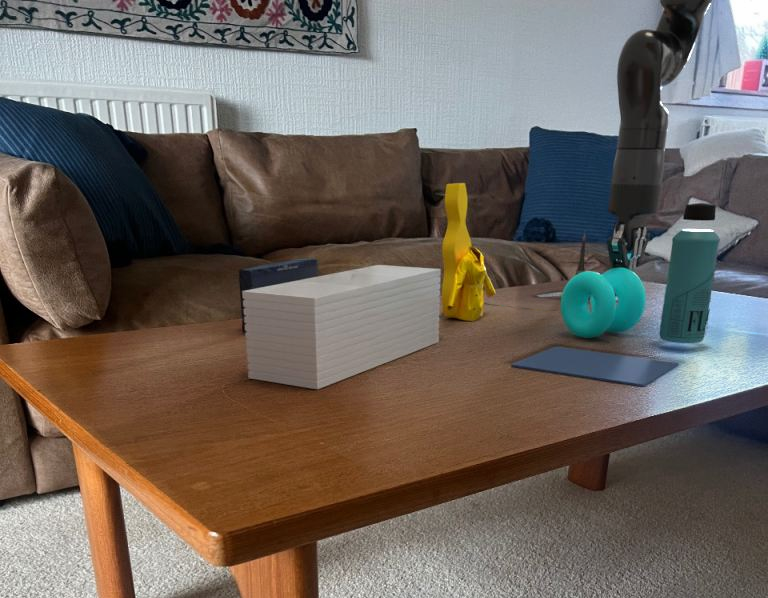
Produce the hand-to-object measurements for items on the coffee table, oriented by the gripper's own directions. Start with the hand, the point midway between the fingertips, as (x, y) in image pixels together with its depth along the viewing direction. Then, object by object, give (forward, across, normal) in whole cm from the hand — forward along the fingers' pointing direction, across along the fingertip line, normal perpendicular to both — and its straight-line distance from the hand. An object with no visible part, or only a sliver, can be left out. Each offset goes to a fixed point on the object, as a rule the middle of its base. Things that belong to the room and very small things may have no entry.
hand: (621, 295), depth 128 cm
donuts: (+5, -8, 0) cm, 10 cm away
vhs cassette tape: (+6, -32, +46) cm, 57 cm away
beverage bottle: (+5, -11, -14) cm, 18 cm away
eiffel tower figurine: (+6, +23, +17) cm, 29 cm away
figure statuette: (+6, -8, +26) cm, 27 cm away
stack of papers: (+5, -45, +21) cm, 50 cm away
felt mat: (+5, -28, -8) cm, 30 cm away
